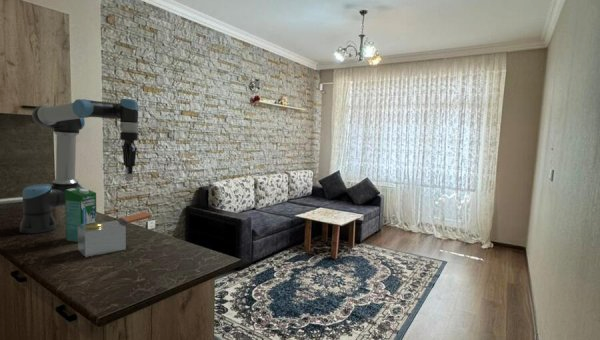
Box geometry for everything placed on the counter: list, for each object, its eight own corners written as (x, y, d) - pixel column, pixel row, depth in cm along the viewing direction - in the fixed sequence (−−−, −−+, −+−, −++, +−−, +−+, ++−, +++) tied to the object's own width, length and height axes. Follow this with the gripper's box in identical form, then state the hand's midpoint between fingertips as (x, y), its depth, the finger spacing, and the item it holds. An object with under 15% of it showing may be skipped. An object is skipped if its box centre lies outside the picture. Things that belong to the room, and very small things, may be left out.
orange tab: (119, 220, 158) (118, 218, 158) (145, 213, 167) (144, 211, 167) (125, 224, 153) (124, 221, 152) (152, 217, 161) (151, 214, 161)
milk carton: (81, 242, 158) (80, 190, 156) (65, 240, 160) (64, 189, 157) (97, 236, 167) (96, 188, 165) (81, 235, 169) (80, 186, 166)
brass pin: (84, 250, 148) (83, 223, 147) (100, 247, 153) (100, 221, 152) (88, 254, 144) (87, 227, 143) (104, 251, 149) (104, 224, 147)
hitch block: (78, 249, 149) (77, 225, 148) (117, 242, 160) (116, 220, 159) (85, 257, 141) (84, 232, 140) (125, 249, 152) (125, 226, 151)
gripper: (116, 130, 162) (116, 178, 164) (125, 131, 153) (125, 182, 155) (132, 131, 167) (132, 178, 169) (142, 132, 158) (142, 181, 160)
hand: (129, 180), depth 162 cm, fingers closed
